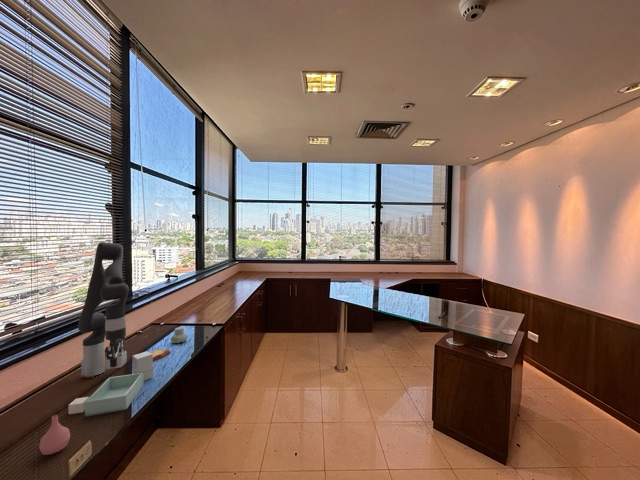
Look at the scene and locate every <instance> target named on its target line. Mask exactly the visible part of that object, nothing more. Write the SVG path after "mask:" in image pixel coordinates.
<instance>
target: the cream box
mask: <svg viewBox="0 0 640 480" xmlns="http://www.w3.org/2000/svg"><path fill="white" fill-rule="evenodd" d="M89 398H90V396H84V397H77V398H75V399H74V400H73V401H71V403H69V404H68V415H74V414H79V413H84V412H85V402H86V401H87V400H88V399H89Z"/></svg>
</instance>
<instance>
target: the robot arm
mask: <svg viewBox="0 0 640 480" xmlns="http://www.w3.org/2000/svg"><path fill="white" fill-rule="evenodd" d="M123 258H124V247H123V245H122V244H120V243H113V242H105V241H102V242H99V243H98V244H97V246H96V250H95V256H94V261H93V262H94V263H93V268H92V273H91V277H90V280H89V283H88V288H87V292H86V297H85V302H84V305H83V308H82V311H81V314H80V316H79V318H78V319H79V320H78V323H77V329H78V331H79V332H80V333H82V334H87V333H90V335H88V336H86V337H85V338H84V339H83V340H82V359H81V361H80V363H81V364H80V367H81V369H80V370H81V376H82V375H85V376H93V375H98V374H101V373H103V372H104V371H105V372H106V357H107V360H109V359H110V367H111V369H113V368H112V367H116V365H117V364H116V356H117V353H118V352H123V351H124V350H125V348H126V336H127V324H126V322H127V321H126V314H125V313H126V312H125V311H126V302H127V299H128V296H129V292H130V289H129V288H130V287H129V286H128V284H127V283H123V282H124V279H123V278H124V276H123V270H122V269H123ZM103 261H113V262H111V263H110V264H109V265H108V266H107V267H106V268H104V265H103ZM113 300H118V301H117V302H116V303H114V304H113V303H112V304H110V305H108V306H106V307H105V314H104V313H103V312H96V310H97V308H98V307H99V306H100V305H101V304H102V303H103V302H104V301H113ZM105 341H109V345H108V346H106V347H105ZM114 353H115V355H114ZM105 372H104V373H105ZM104 373H103V374H104ZM101 375H102V374H101Z"/></svg>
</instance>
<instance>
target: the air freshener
mask: <svg viewBox="0 0 640 480" xmlns="http://www.w3.org/2000/svg"><path fill="white" fill-rule="evenodd" d="M184 330H185V328H184V327H183V326H182V327H181V326H180V327H179V326H177V327H175V328H174V334H173V335H172V336H171V337H170V341H171V342H172V343H173V344H175V343H178V344H181V343H180V342H182V343H184V342H186V341H187V339H188V337H189V336H188V334H186V333H185V331H184Z"/></svg>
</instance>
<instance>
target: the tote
mask: <svg viewBox="0 0 640 480" xmlns="http://www.w3.org/2000/svg"><path fill="white" fill-rule="evenodd" d="M143 386H144V381H143V373H137V374H133V373H131V374H125V375H118V376H117V375H116V376H110V377H108V378H107V379H106V380H105V381H104V382H103V383H102V384H101V385H100V386H99V387H98V389H96V391H94V392H93V394H91V395H90V396H89V399H88V400H87V401H86V402H85V410H84V417H85V418H86V417H91V416H97V415H103V414H109V413H113V412H120V411H126V410H127V409H128V408H129V406H130V405H131V403H132V402H133V400H134V399H135V397H136V396H137V395H138V393H139V392H140V390H141V388H142V387H143Z"/></svg>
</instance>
